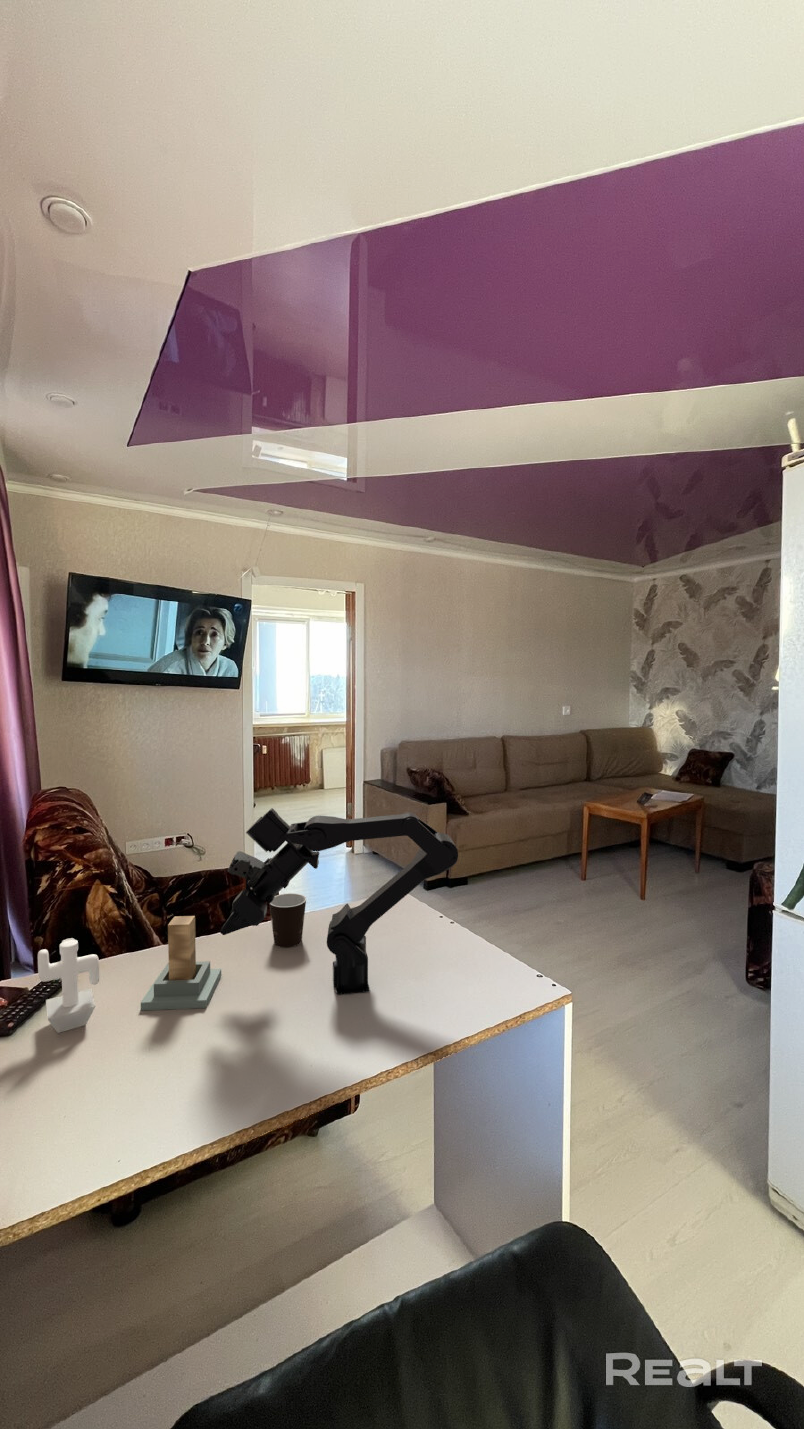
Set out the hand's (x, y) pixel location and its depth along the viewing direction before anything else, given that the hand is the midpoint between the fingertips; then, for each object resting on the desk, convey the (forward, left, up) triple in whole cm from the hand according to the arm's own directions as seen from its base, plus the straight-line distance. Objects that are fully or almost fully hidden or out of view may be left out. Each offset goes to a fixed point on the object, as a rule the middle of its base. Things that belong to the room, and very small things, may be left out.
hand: (227, 923), depth 114 cm
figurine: (+27, +6, -14) cm, 31 cm away
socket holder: (+9, -1, -14) cm, 16 cm away
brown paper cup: (-12, -21, -14) cm, 28 cm away
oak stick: (+9, -1, -12) cm, 15 cm away
